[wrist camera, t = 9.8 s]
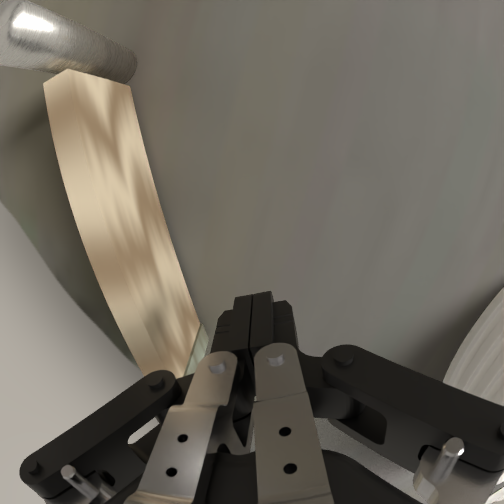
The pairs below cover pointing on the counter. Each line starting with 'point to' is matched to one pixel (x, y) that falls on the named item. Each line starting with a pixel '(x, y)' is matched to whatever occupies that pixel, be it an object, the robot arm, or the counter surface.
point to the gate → (123, 220)
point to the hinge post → (58, 44)
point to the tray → (496, 496)
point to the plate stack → (482, 357)
